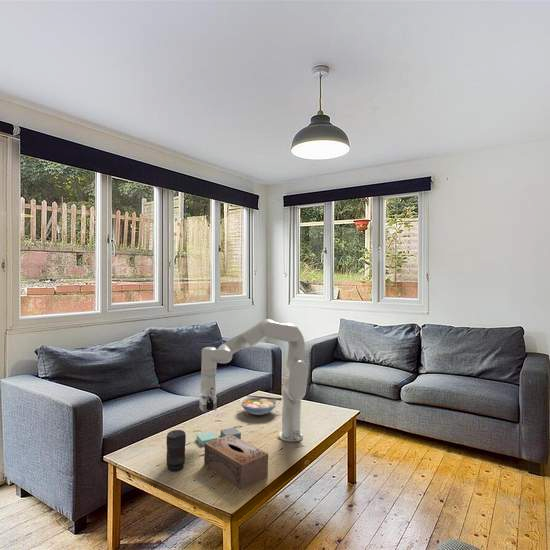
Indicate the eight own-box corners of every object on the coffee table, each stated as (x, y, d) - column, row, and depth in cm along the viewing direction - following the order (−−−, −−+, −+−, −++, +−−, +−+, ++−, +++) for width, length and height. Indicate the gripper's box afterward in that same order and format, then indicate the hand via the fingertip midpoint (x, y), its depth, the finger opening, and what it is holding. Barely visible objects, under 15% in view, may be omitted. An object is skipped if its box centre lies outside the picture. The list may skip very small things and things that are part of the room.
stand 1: (217, 442, 193) (217, 437, 193) (201, 446, 189) (201, 440, 189) (211, 436, 200) (211, 431, 200) (196, 439, 196) (196, 434, 196)
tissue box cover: (267, 477, 163) (268, 453, 163) (241, 490, 153) (242, 465, 153) (229, 455, 181) (230, 434, 181) (204, 465, 171) (204, 443, 171)
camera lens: (162, 467, 168) (163, 433, 168) (178, 461, 174) (179, 428, 174) (171, 474, 162) (172, 439, 162) (188, 468, 168) (189, 433, 168)
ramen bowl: (231, 417, 227) (232, 403, 227) (245, 404, 249) (246, 391, 249) (272, 423, 220) (272, 408, 220) (283, 409, 242) (283, 396, 242)
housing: (203, 411, 190) (203, 399, 190) (199, 408, 195) (199, 395, 195) (216, 409, 194) (216, 397, 194) (212, 406, 199) (212, 394, 198)
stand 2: (240, 437, 200) (240, 433, 200) (226, 440, 196) (226, 435, 196) (234, 432, 207) (234, 427, 206) (220, 434, 203) (220, 430, 202)
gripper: (196, 368, 200) (195, 403, 200) (207, 377, 185) (206, 414, 185) (209, 367, 203) (209, 401, 204) (222, 375, 189) (221, 412, 189)
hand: (207, 407), depth 194 cm, fingers closed on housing, 5 cm apart
